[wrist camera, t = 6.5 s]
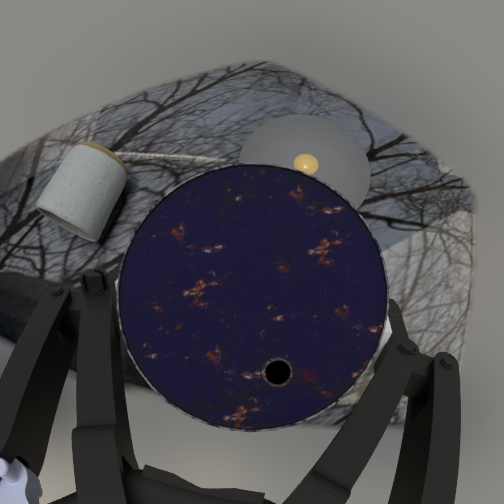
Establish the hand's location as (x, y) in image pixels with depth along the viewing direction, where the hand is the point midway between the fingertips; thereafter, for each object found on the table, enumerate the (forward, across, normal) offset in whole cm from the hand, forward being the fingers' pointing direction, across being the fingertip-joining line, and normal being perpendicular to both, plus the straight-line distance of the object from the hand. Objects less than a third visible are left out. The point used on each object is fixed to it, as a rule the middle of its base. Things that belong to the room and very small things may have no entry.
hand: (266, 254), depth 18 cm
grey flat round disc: (+16, +2, +1) cm, 16 cm away
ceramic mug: (+11, -20, -4) cm, 24 cm away
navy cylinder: (+4, 0, -8) cm, 9 cm away
